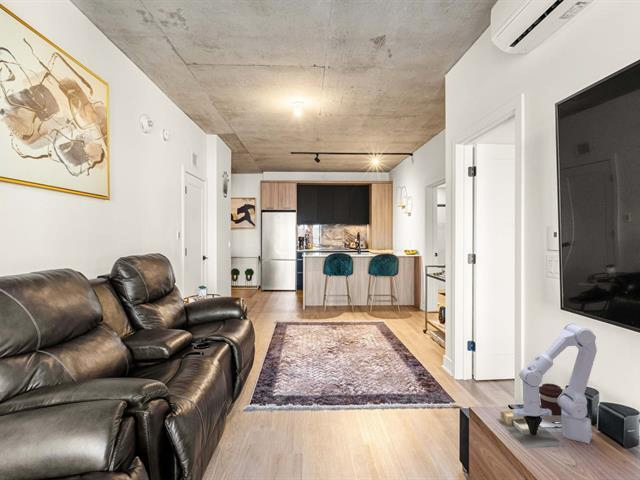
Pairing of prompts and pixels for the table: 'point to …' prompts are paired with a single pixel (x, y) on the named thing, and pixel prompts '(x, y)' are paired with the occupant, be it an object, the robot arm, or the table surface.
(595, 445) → the table surface
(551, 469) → the table surface
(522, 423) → the tray shell
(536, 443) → the overhang board
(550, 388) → the coffee cup
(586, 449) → the table surface
